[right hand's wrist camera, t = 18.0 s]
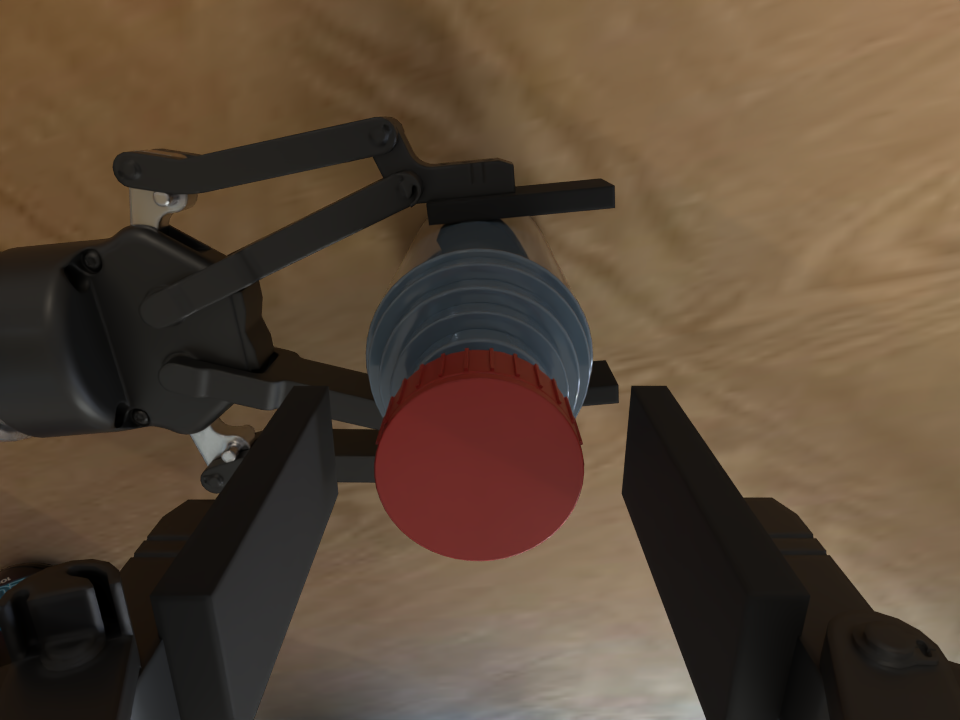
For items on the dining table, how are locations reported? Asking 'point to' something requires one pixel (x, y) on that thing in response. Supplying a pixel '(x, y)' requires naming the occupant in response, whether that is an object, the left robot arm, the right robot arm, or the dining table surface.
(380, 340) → the bottle
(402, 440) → the cap
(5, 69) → the dining table surface
